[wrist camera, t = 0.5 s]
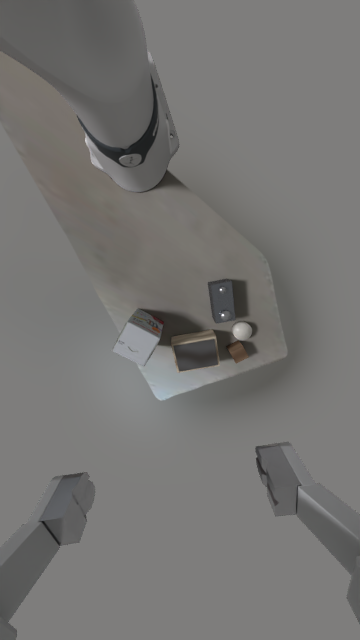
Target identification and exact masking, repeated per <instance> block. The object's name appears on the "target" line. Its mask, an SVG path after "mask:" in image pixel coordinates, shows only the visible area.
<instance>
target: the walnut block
mask: <svg viewBox="0 0 360 640" xmlns="http://www.w3.org/2000/svg"><path fill="white" fill-rule="evenodd" d="M226 347H227V348H228V350H229V352H230V354H231V355H232V357H233V359H234V361H235V363H238V362H240V361H242V360H244V359H246V358H248V357H249V356H248V354H247V353H246V351H245V349H244V347H243V345H242V344H241V343H240V341H239V340H238V341H236V342H234V343H232V344H230V345H228V346H226Z"/></svg>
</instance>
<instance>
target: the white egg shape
mask: <svg viewBox="0 0 360 640" xmlns="http://www.w3.org/2000/svg"><path fill="white" fill-rule="evenodd" d="M232 333H233V335H234V336H235V337H236V338H237V339H238V340H246V339H248V338H249V337H250V336H251V334H252V328H251V327H250V326H249V325H248V324H247V323H246V322H244V321H238V322H236V323H235V324H234V325H233V326H232Z"/></svg>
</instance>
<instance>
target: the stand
mask: <svg viewBox="0 0 360 640" xmlns="http://www.w3.org/2000/svg"><path fill="white" fill-rule="evenodd" d="M171 346H172V350H173V355H174V359H175V363H176V368H177V372H178V373H179V372H185V371H191V370H197V369H202V368H208V367H214V366H220V363H219V355H218V348H217V340H216V336H215V334H214V332H213V330H206V331H201V332H195V333H190V334H184V335H178V336H173V337H172V339H171Z"/></svg>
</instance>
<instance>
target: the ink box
mask: <svg viewBox="0 0 360 640" xmlns="http://www.w3.org/2000/svg"><path fill="white" fill-rule="evenodd" d="M163 324H164V322H163V321H161V320H159V319H157V318H155V317H154V316H152V315H150V314H148V313H146V312H144V311H142V310H140V309H137V310H136V311H135V312H134V314H133V315H132V316H131V317H130V319H129V320H128V321H127V323H126V324H125V326H124V328H123V329H122V331H121V333H120V335H119V337H118V339H117V341H116V343H115V345H114V347H113V349H112V351H113V352H115V353H117V354H119V355H121V356H124V357H125V358H127V359H129V360H132V361H134V362H136V363H138V364H140V365H142V366H145V364H146V363H147V361H148V360H149V358H150V356H151V355H152V353H153V351H154V350H155V348H156V346H157V344H158V342H159V340H160V337H161V333H162V328H163Z"/></svg>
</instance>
